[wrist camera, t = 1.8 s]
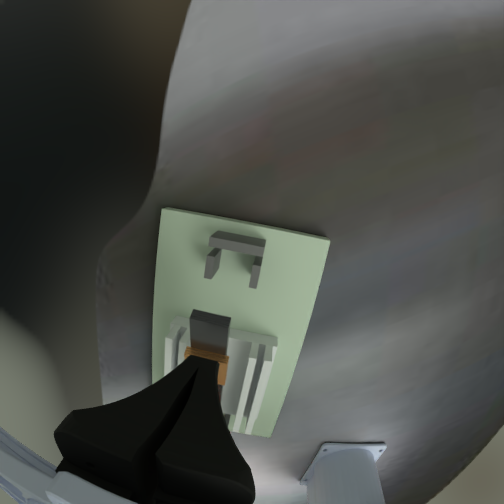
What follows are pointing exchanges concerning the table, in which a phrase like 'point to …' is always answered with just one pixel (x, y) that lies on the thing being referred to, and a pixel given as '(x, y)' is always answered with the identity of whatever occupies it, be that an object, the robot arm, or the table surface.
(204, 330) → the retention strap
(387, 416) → the table surface
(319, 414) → the table surface
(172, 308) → the heatsink board
